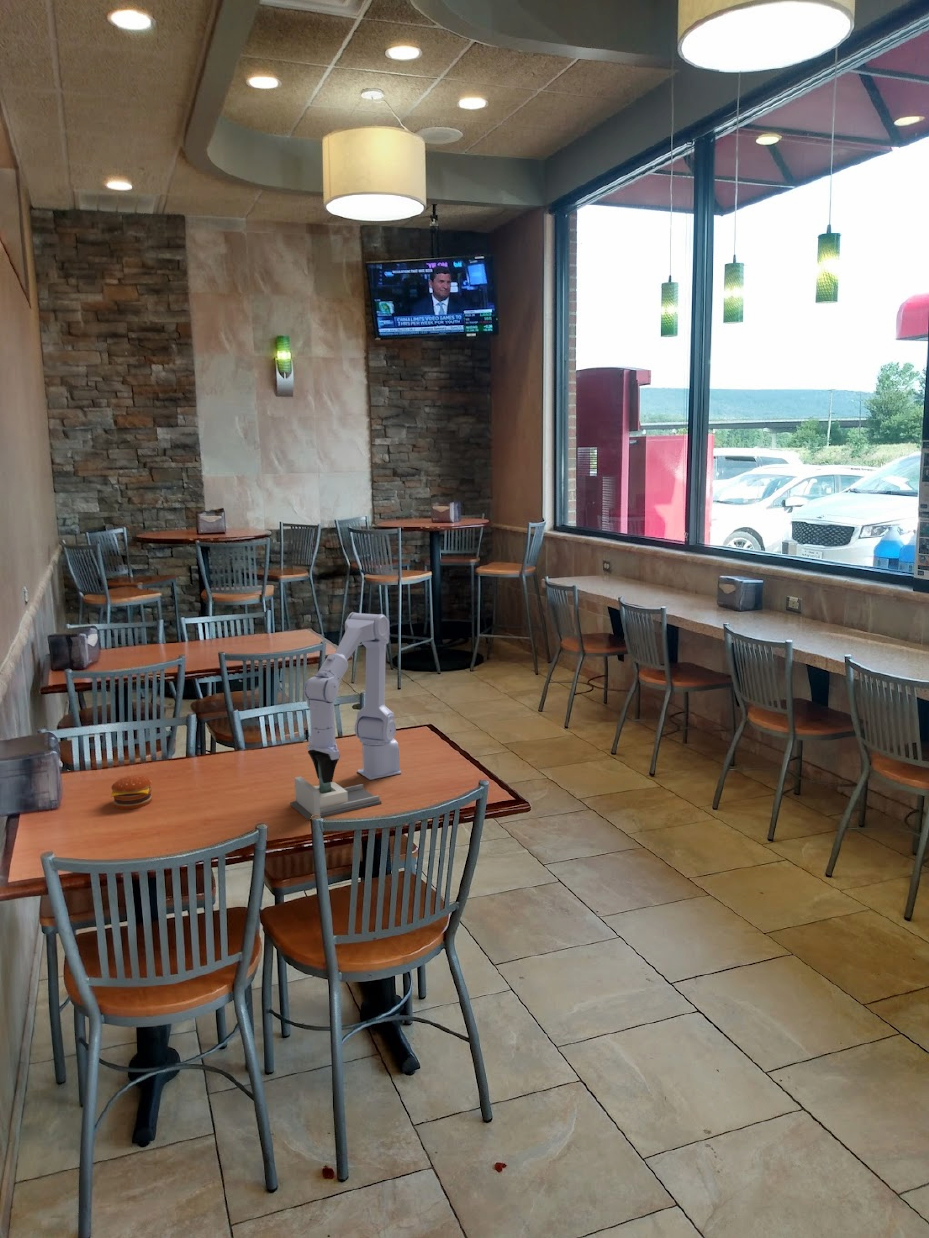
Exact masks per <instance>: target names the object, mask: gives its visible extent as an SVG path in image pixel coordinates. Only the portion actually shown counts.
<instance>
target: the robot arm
mask: <svg viewBox="0 0 929 1238" xmlns="http://www.w3.org/2000/svg"><path fill="white" fill-rule="evenodd" d="M344 631H345V632H344V634H343V636H342V637H341V638H342V639H341V640H340V642H339V644H338V646H337V648H336V651H335V652H334V653H330V654H328V656H327V657H326V659H325V660H323V661H324V662H323V663H322V664H321V666H320V668H319V669H318V671H317V672H316V675H315V676H311V677H310V678H309V679H307V680H306V682H305V685H304V690H303V695H304V696H303V697H304V698H305V699H306V702H307V703H306V705H307V707H308V708H309V717H310V719H309V721H310V724H309V725H310V736H308V739H307V740H308V745H306V749H307V750H308V751H307V753H308V755H309V757H310V759H311V761H312V762H313V766H314V769H315V773H316V776H317V779H318V780H319V769H318V763H319V766H320V769H321V775H322V780H323V782H324V783H328V782H333V780H334V774H335V770H336V766H337V763H338V761H339V760H340V758H341V754H340V750H339V749H338V745H337V742H336V729H335V728H336V727H335V726H336V725H335V724H336V723H335V700H336V699H337V698H338V695H339V688H340V685H341V684H340V681H342V678H343V677H344V676H345V674H346V672H347V670H348V669H349V662H348V660H350V658H351V656H352V655H353V653H354V652H355V651H356V649H357V648H358V647H359V645H360V644H362V645H363V646H364V647H365V684H364V685H365V689H364V691H365V693H364V694H365V695H364V697H365V700H364V707H362V708H361V709H360V710H358V711H357V712H356V719H355V724H354V732H355V733H354V735H355V736H356V738H357V739H359V743H361V745H362V767H363V768H361V769H357V772H358V773H359V774H360V775H361V776H364V777H365V778H366V779H368V780H371V781H372V780H376V779H381V778H385V777H390V776H394V775H399V774H402V771H401V763H400V762H401V761H400V760H401V759H400V758H401V757H400V747H399V743H398V741H397V740H396V739H395V736H396V731H397V727H396V726H397V725H396V722H395V713H394V712H393V711H392V710H391V709H389V708H388V707H387V706H386V705H385V703H386V701H385V700H386V699H385V698H386V656H387V654H386V653H387V652H386V650H387V649H386V647H387V645H388V644H389V642H390V620H389V619H388V618H387V616H386V615H385V614H383V613H382V614H381V613H379V614H375V613H360V612H355V611H352V612H350V613H349V615H348V616H347V618H346V620H345V621H344Z"/></svg>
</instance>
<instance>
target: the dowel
mask: <svg viewBox="0 0 929 1238" xmlns="http://www.w3.org/2000/svg"><path fill="white" fill-rule="evenodd" d="M318 769H319V779H318V785H319V791H320V793H323V794H324V793H329V792H331V782H328V783H324V782H323V780H322V775H321V769H320V766H319V763H318Z"/></svg>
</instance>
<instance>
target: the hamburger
mask: <svg viewBox="0 0 929 1238" xmlns="http://www.w3.org/2000/svg"><path fill="white" fill-rule="evenodd" d="M152 782H153V781H152V780H150V779H149V778H148V777H147V776H145V775H144V776H143V775H137V774H136V775H126V776H125V777H121V778H119V779H117V780H116V781H115V782H114V783H113V784H112V785H111V787H110V788H111V793H110V794H111V795H110V798H113V802H112V803H113V806H114V807H115V808H117V809H118V810H119V809H120V810H133V809H139V808H141V807H145V806H147V805H149V804H151V803H152V801H153V796H152V788H151V786H152V785H153V783H152Z"/></svg>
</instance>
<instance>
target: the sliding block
mask: <svg viewBox="0 0 929 1238" xmlns="http://www.w3.org/2000/svg"><path fill="white" fill-rule="evenodd" d="M312 786H313V787H315V788H316V789H317V790H318V791H319V784H318V785H312ZM343 788H344V787H342V786H341V785H340V784H338V783H336V782H335V781H332V782H331V792H329V793H324V794H323V793H320V791H319V796H320V808H325V807H329V806H334V805H338V804H342V803H347V802H348V793H347V791H346V790H345V789H343Z"/></svg>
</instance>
